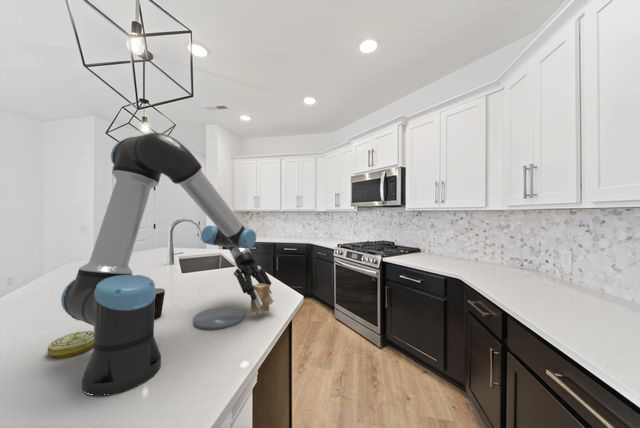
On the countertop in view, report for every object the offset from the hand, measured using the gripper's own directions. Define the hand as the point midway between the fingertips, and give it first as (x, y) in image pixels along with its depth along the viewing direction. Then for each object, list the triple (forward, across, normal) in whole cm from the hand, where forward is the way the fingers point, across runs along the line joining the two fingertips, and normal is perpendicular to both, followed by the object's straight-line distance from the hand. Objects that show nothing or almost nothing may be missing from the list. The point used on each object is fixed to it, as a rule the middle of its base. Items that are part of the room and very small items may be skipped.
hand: (266, 304), depth 95 cm
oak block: (0, 0, -5) cm, 5 cm away
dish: (-5, +12, -13) cm, 18 cm away
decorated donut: (-13, +50, -22) cm, 56 cm away
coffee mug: (-20, +29, -29) cm, 46 cm away
